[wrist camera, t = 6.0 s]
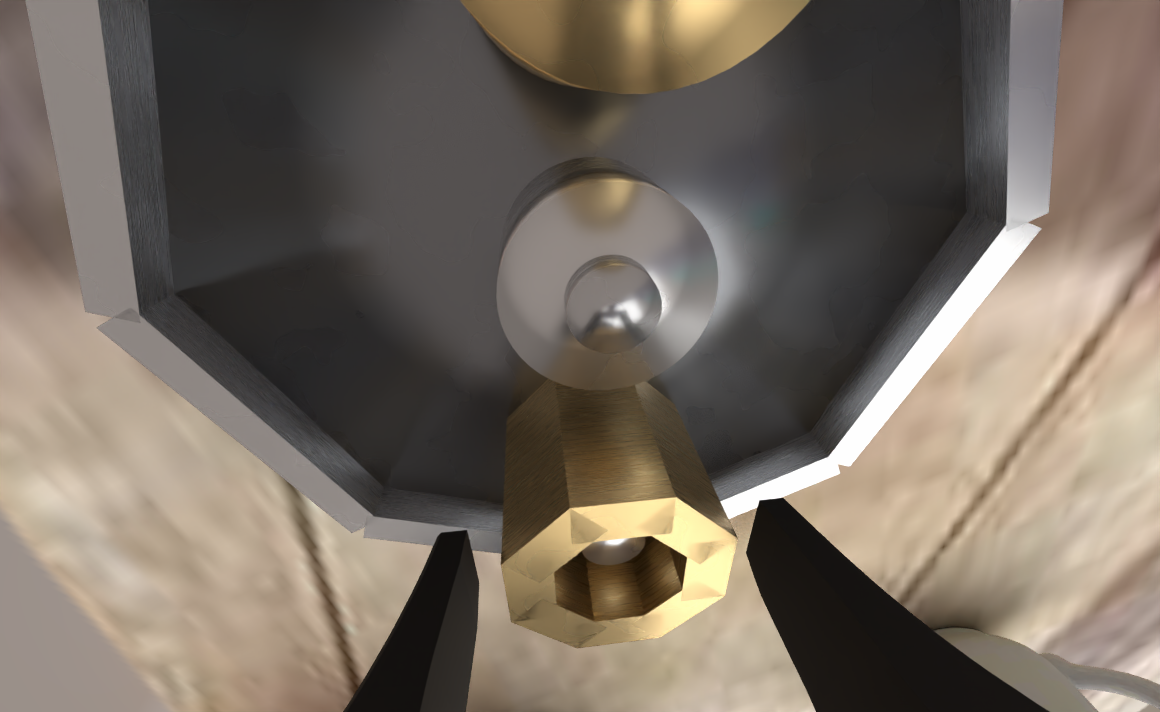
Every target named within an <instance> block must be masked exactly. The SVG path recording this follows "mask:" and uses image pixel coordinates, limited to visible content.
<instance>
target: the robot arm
mask: <svg viewBox="0 0 1160 712" xmlns="http://www.w3.org/2000/svg"><path fill="white" fill-rule="evenodd" d="M746 554H747V557H748V560H749V563H750V566H751V569H752V572H753V575H754V578H755V580H756V583H757V586H758V588H759V591H760V594H761V596H762V598H763V601H764V603H765V605H766V607H767V609H768V611H769V613H770V615H771V618H772V620H773V622H774V624H775V626H776V628H777V630H778V632H779V634H780V636H781V638H782V640H783V642H784V645H785V647H786V649H787V651H788V653H789V655H790V657H791V659H792V661H793V663H794V665H795V667H796V669H797V671H798V673H799V676H800V678H801V680H802V682H803V684H804V686H805V688H806V690H807V692H808V694H809V697H810V699H811V701H812V703H813V706H814V708H815V710H816V712H1050V711H1048V710H1046V709H1045V708H1043V707H1042V706H1040V705H1039V704H1037V703H1036V702H1034V701H1033V700H1031V699H1030V698H1028V697H1027V696H1025V695H1024V694H1022V693H1021V692H1019V691H1018V690H1016V689H1015V688H1013V687H1012V686H1010V685H1009V684H1007V683H1006V682H1004V681H1003V680H1001V679H1000V678H998V677H997V676H995V675H994V674H992V673H991V672H989V671H988V670H987V669H985V668H984V667H982V666H981V665H979V664H978V663H977V662H975V661H974V660H972V659H971V658H969V657H968V656H967V655H965V654H964V653H963V652H961V651H960V650H959V649H957V648H956V647H955V646H953V645H952V644H951V643H949V642H948V641H947V640H945V639H944V638H943V637H941V636H940V635H938V634H937V633H936V632H934V631H933V630H932V629H930V628H929V627H928V626H927V625H925V624H924V623H923V622H922V621H920V620H919V619H918V618H916V617H915V616H914V615H913V614H911V613H910V612H909V611H908V610H907V609H905V608H904V607H903V606H902V605H901V604H899V603H898V602H897V601H896V600H895V599H893V598H892V597H891V596H890V595H889V594H887V593H886V592H885V591H884V590H883V589H881V588H880V587H879V586H878V585H877V584H876V583H875V582H873V581H872V580H871V579H870V578H869V577H868V576H867V575H865V574H864V573H863V572H862V571H861V570H860V569H859V568H858V567H857V566H855V565H854V564H853V563H852V562H851V561H850V560H849V559H848V558H846V557H845V556H844V555H843V554H842V553H841V552H840V551H839V550H838V549H837V548H836V547H834V546H833V545H832V544H831V543H830V542H829V541H828V540H827V539H826V538H825V537H824V536H823V535H822V534H821V533H820V532H818V531H817V530H816V529H815V528H814V527H813V526H812V525H811V524H810V523H809V522H808V521H807V520H806V519H805V518H804V517H803V516H802V515H801V514H800V513H798V512H797V511H796V510H795V509H794V508H793V507H792V506H791V505H790V504H789V503H788V502H787V501H786V500H785V499H784V498H776V499H766V500H759V503H758V507H757V511H756V515H755V519H754V523H753V527H752V531H751V535H750V539H749V543H748V547H747V551H746ZM478 597H479V580H478V575H477V571H476V567H475V562H474V558H473V553H472V549H471V544H470V540H469V535H468V531H467V530H461V531H451V532H442V533H440V534H439V535H438V536H437V538H436V541H435V543H434V546H433V548H432V551H431V553H430V555H429V557H428V560H427V562H426V564H425V566H424V569H423V571H422V573H421V575H420V577H419V579H418V581H417V583H416V585H415V587H414V590H413V592H412V594H411V596H410V598H409V599H408V601H407V603H406V605H405V607H404V609H403V611H402V613H401V615H400V617H399V619H398V621H397V622H396V624H395V626H394V628H393V630H392V632H391V634H390V635H389V637H388V639H387V641H386V642H385V644H384V646H383V647H382V649H381V651H380V653H379V654H378V656H377V658H376V660H375V661H374V663H373V665H372V666H371V668H370V670H369V672H368V673H367V675H366V677H365V678H364V680H363V682H362V683H361V685H360V686H359V688H358V690H357V691H356V693H355V694H354V696H353V698H352V699H351V701H350V702H349V704H348V705H347V707H346V708H345V710H344V712H466V705H467V698H468V691H469V684H470V677H471V670H472V663H473V655H474V648H475V641H476V633H477V621H478Z"/></svg>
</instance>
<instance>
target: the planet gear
mask: <svg viewBox="0 0 1160 712" xmlns="http://www.w3.org/2000/svg"><path fill="white" fill-rule="evenodd" d="M643 536H645V545H644V547H643V549H642V550H641V552H640V553H639V554H638V555H637V556H635V557H634V558H632V559H631V560H629V561H626V562H624V563H620V564H616V565H600V564H596V563H593V562H591V561H589V560H588V559H587V558H586V557H585V556H584V555H583V553H582V550H584V549H585V548H586V547H587V546H589V545H590V544H591V543H593V542H598V541H607V540H616V539H625V538H634V537H643ZM737 539H738V538H737V536H736V534H735V532H734V529H733V527H732V525H731V523H730V521H729V519H728V517H727V515H726V513H725V510H724V508H723V506H722V504H721V502H720V500H719V498H718V496H717V493H716V491H715V489H714V487H713V485H712V483H711V481H710V479H709V476H708V474H707V472H706V470H705V468H704V466H703V464H702V462H701V460H700V457H699V455H698V453H697V451H696V449H695V447H694V445H693V443H692V440H691V438H690V436H689V434H688V432H687V430H686V428H685V426H684V424H683V421H682V419H681V417H680V415H679V413H678V411H677V409H676V407H675V404H674V403H673V402H671V401H670V400H669V399H668V398H666V397H665V396H664V395H663V394H661V393H660V392H659V391H658V390H656V389H655V388H654V387H653V386H651V385H650V384H649V383H648V382H646V381H644V382H642V383H639V384H636V385H633V386H629V387H626V388H620V389H614V390H601V391H599V390H584V389H578V388H573V387H569V386H566V385H562V384H560V383H557V382H555V381H552V380H550V379H547V380H546V381H545V382H544V383H543V384H542V385H541V386H540V387H539V388H538V389H537V390H536V391H535V392H534V393H532V394H531V395H530V396H529V397H528V398H527V399H526V400H525V401H524V402H523V403H522V404H521V405H520V406H519V407H518V408H517V409H516V410H515V411H514V412H513V413H512V414H511V415H510V416H509V417H508V418H507V430H506V454H505V479H504V503H503V527H502V552H501V568H502V573H503V579H504V584H505V590H506V595H507V601H508V606H509V612H510V618H511V622H512V623H515V624H517V625H520V626H522V627H525V628H527V629H530V630H532V631H535V632H537V633H540V634H542V635H545V636H547V637H550V638H553V639H555V640H558V641H560V642H563V643H565V644H568V645H570V646H573V647H575V648H583V647H591V646H599V645H606V644H614V643H622V642H630V641H637V640H645V639H653V638H660V637H662V636H663V635H665V634H666V633H668V632H669V631H671V630H672V629H674V628H676V627H677V626H679V625H680V624H682V623H683V622H685V621H686V620H688V619H690V618H691V617H693V616H694V615H696V614H697V613H699V612H700V611H702V610H704V609H705V608H707V607H708V606H710V605H711V604H713V603H714V602H716V601H718V600H719V599H721V598H722V597H724V596H725V592H726V587H727V583H728V579H729V574H730V570H731V566H732V561H733V557H734V552H735V548H736V544H737Z"/></svg>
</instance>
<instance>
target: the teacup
mask: <svg viewBox="0 0 1160 712" xmlns="http://www.w3.org/2000/svg"><path fill="white" fill-rule="evenodd" d="M933 631H934V632H936V633H937V634H938V635H940V636H941V637H943V638H944V639H945V640H947V641H948V642H949V643H951V644H952V645H953V646H955V647H956V648H957V649H959V650H960V651H961V652H963V653H964V654H965V655H967V656H968V657H969V658H971V659H972V660H974V661H975V662H977V663H978V664H979V665H981V666H982V667H984V668H985V669H987V670H988V671H989V672H991V673H992V674H994V675H995V676H997V677H998V678H1000V679H1001V680H1003V681H1004V682H1006V683H1007V684H1009V685H1010V686H1012V687H1013V688H1015V689H1016V690H1018V691H1019V692H1021V693H1022V694H1024V695H1025V696H1027V697H1028V698H1030V699H1031V700H1033V701H1034V702H1036V703H1037V704H1039V705H1040V706H1042V707H1043V708H1045V709H1046V710H1048V711H1050V712H1098V711H1097V710H1096V709H1095V707H1094V706H1093V705H1092V704H1091V703H1090V702H1089V701H1088V700H1087V699H1086V698H1085V697H1084V696H1083V695H1082V694H1081V693H1080V692H1079V691H1078V690H1077V689H1090V690H1099V691H1106V692H1112V693H1117V694H1121V695H1124V696H1128V697H1131V698H1135V699H1137V700H1140V701H1142V702H1145V703H1148V704H1150V705H1152V706H1154V707H1156V708H1158V709H1160V685H1159V684H1157V683H1154V682H1152V681H1150V680H1147V679H1144V678H1141V677H1138V676H1135V675H1132V674H1129V673H1124V672H1119V671H1114V670H1109V669H1104V668H1098V667H1091V666H1083V665H1077V664H1073V663H1070V662H1068V661H1066V660H1064V659H1063V658H1061V657H1059V656H1057V655H1054V654H1051V653H1042V654H1038V653H1036V652H1035V651H1033V650H1032V649H1030V648H1028V647H1027V646H1025V645H1022V644H1020V643H1018V642H1015V641H1013V640H1010V639H1007V638H1003V637H999V636H994V635H988V634H985V633H983V632H981V631H978V630H973V629H968V628H944V629H938V630H933Z"/></svg>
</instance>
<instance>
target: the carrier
mask: <svg viewBox="0 0 1160 712" xmlns="http://www.w3.org/2000/svg"><path fill="white" fill-rule="evenodd" d="M25 1H26V6H27V11H28V17H29V22H30V27H31V32H32V37H33V42H34V48H35V53H36V58H37V63H38V68H39V74H40V79H41V84H42V89H43V94H44V99H45V105H46V110H47V115H48V120H49V125H50V131H51V136H52V141H53V146H54V151H55V156H56V162H57V167H58V172H59V177H60V182H61V188H62V193H63V198H64V203H65V208H66V213H67V219H68V224H69V229H70V234H71V239H72V245H73V250H74V255H75V260H76V265H77V271H78V276H79V281H80V286H81V291H82V296H83V302H84V307H85V312H88V313H93V314H98V315H103V316H108V317H113V318H112V319H110V320H108V321H107V322H105V323H103V324H102V325H100V326H98V327H97V329H99V330H100V331H101V332H102V333H104V334H105V335H106V336H107V337H108V338H110V339H111V340H112V341H113V342H115V343H116V344H117V345H118V346H120V347H121V348H122V349H123V350H125V351H126V352H127V353H128V354H130V355H131V356H132V357H133V358H135V359H136V360H137V361H138V362H140V363H141V364H142V365H143V366H145V367H146V368H147V369H148V370H150V371H151V372H152V373H153V374H155V375H156V376H157V377H158V378H159V379H161V380H162V381H163V382H164V383H166V384H167V385H168V386H169V387H171V388H172V389H173V390H174V391H176V392H177V393H178V394H179V395H181V396H182V397H183V398H184V399H186V400H187V401H188V402H189V403H191V404H192V405H193V406H194V407H196V408H197V409H198V410H199V411H201V412H202V413H203V414H204V415H206V416H207V417H208V418H209V419H210V420H212V421H213V422H214V423H215V424H217V425H218V426H219V427H220V428H222V429H223V430H224V431H225V432H227V433H228V434H229V435H230V436H232V437H233V438H234V439H235V440H237V441H238V442H239V443H240V444H242V445H243V446H244V447H245V448H247V449H248V450H249V451H250V452H252V453H253V454H254V455H255V456H257V457H258V458H259V459H260V460H261V461H263V462H264V463H265V464H266V465H268V466H269V467H270V468H271V469H273V470H274V471H275V472H276V473H278V474H279V475H280V476H281V477H283V478H284V479H285V480H286V481H288V482H289V483H290V484H291V485H293V486H294V487H295V488H296V489H298V490H299V491H300V492H301V493H303V494H304V495H305V496H306V497H308V498H309V499H310V500H311V501H312V502H314V503H315V504H316V505H317V506H319V507H320V508H321V509H322V510H324V511H325V512H326V513H327V514H329V515H330V516H331V517H332V518H334V519H335V520H336V521H337V522H339V523H340V524H341V525H342V526H344V527H345V528H346V529H347V530H349V531H350V532H351V533H353V532H355V531H357V530H360V529H362V528H364V527H365V531H364V537H363V538H371V539H380V540H389V541H397V542H406V543H415V544H423V545H432V546H434V543H435V541H436V538H437V536H438V535H439V534H440V533H442V532H451V531H461V530H467V531H468V535H469V540H470V544H471V549H472V550H475V551H484V552H493V553H501V552H502V527H503V503H504V479H505V454H506V430H507V418H508V417H509V416H510V415H511V414H512V413H513V412H514V411H515V410H516V409H517V408H518V407H519V406H520V405H521V404H522V403H523V402H524V401H525V400H526V399H527V398H528V397H529V396H530V395H531V394H532V393H534V392H535V391H536V390H537V389H538V388H539V387H540V386H541V385H542V384H543V383H544V382H545V381H546V380H547V379H550V380H552V381H555V382H557V383H560V384H562V385H566V386H569V387H573V388H578V389H584V390H599V391H601V390H614V389H620V388H626V387H629V386H633V385H636V384H639V383H642V382H644V381H646V382H648V383H649V384H650V385H651V386H653V387H654V388H655V389H656V390H658V391H659V392H660V393H661V394H663V395H664V396H665V397H666V398H668V399H669V400H670V401H671V402H673V403H674V404H675V407H676V409H677V411H678V413H679V415H680V417H681V419H682V421H683V424H684V426H685V428H686V430H687V432H688V434H689V436H690V438H691V440H692V443H693V445H694V447H695V449H696V451H697V453H698V455H699V457H700V460H701V462H702V464H703V466H704V468H705V470H706V472H707V474H708V476H709V479H710V481H711V483H712V485H713V487H714V489H715V491H716V493H717V496H718V498H719V500H720V502H721V504H722V506H723V508H724V510H725V513H726V515H727V517H728V519H730V518H732V517H735V516H737V515H739V514H742V513H744V512H747V511H749V510H752V509H754V508H757V507H758V503H759V500H766V499H776V498H781V497H784V496H786V495H789V494H791V493H793V492H796V491H798V490H801V489H803V488H806V487H808V486H811V485H813V484H816V483H818V482H821V481H823V480H825V479H828V478H830V477H833V476H835V475H838V474H840V472H839V468H838V464H840V465H845V466H851V464H852V463H853V462H854V461H855V459H856V458H857V457H858V456H859V454H860V453H861V452H862V451H863V449H864V448H865V447H866V446H867V445H868V443H869V442H870V441H871V440H872V438H873V437H874V436H875V435H876V433H877V432H878V431H879V430H880V428H881V427H882V426H883V425H884V423H885V422H886V421H887V420H888V418H889V417H890V416H891V415H892V413H893V412H894V411H895V410H896V408H897V407H898V406H899V405H900V404H901V402H902V401H903V400H904V399H905V397H906V396H907V395H908V394H909V392H910V391H911V390H912V389H913V387H914V386H915V385H916V384H917V382H918V381H919V380H920V379H921V377H922V376H923V375H924V374H925V372H926V371H927V370H928V369H929V367H930V366H931V365H932V364H933V363H934V361H935V360H936V359H937V358H938V356H939V355H940V354H941V353H942V351H943V350H944V349H945V348H946V346H947V345H948V344H949V343H950V341H951V340H952V339H953V338H954V336H955V335H956V334H957V333H958V331H959V330H960V329H961V328H962V326H963V325H964V324H965V323H966V322H967V320H968V319H969V318H970V317H971V315H972V314H973V313H974V312H975V310H976V309H977V308H978V307H979V305H980V304H981V303H982V302H983V300H984V299H985V298H986V297H987V295H988V294H989V293H990V292H991V290H992V289H993V288H994V287H995V285H996V284H997V283H998V282H999V281H1000V279H1001V278H1002V277H1003V276H1004V274H1005V273H1006V272H1007V271H1008V269H1009V268H1010V267H1011V266H1012V264H1013V263H1014V262H1015V261H1016V259H1017V258H1018V257H1019V256H1020V254H1021V253H1022V252H1023V251H1024V249H1025V248H1026V247H1027V246H1028V244H1029V243H1030V242H1031V241H1032V240H1033V238H1034V237H1035V236H1036V235H1037V233H1038V232H1039V231H1040V230H1041V228H1039V227H1037V226H1035V225H1032V224H1030V223H1027V222H1029V221H1032V220H1034V219H1036V218H1038V217H1040V216H1042V215H1045V214H1047V213H1049V199H1050V184H1051V170H1052V156H1053V142H1054V127H1055V113H1056V99H1057V85H1058V71H1059V56H1060V42H1061V28H1062V14H1063V0H25ZM644 545H645V536H643V537H634V538H625V539H616V540H607V541H598V542H593V543H591V544H590V545H589V546H587V547H586V548H585V549H584V550H582V553H583V555H584V556H585V557H586V558H587V559H588V560H589V561H591V562H593V563H596V564H600V565H616V564H620V563H624V562H626V561H629V560H631V559H632V558H634V557H635V556H637V555H638V554H639V553H640V552H641V550H642V549H643V547H644Z"/></svg>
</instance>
